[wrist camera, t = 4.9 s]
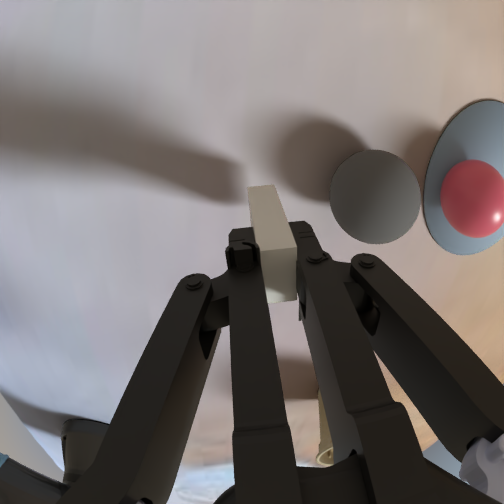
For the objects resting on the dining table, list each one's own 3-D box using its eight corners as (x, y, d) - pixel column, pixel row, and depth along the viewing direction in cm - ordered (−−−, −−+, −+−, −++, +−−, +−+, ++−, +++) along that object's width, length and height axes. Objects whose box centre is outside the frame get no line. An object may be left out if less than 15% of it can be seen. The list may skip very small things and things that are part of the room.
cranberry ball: (437, 245, 18) (505, 259, 16) (452, 166, 15) (527, 184, 13) (431, 209, 22) (489, 221, 20) (441, 144, 19) (503, 159, 17)
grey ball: (433, 250, 16) (390, 212, 21) (442, 160, 13) (390, 137, 18) (351, 272, 16) (319, 226, 21) (351, 171, 13) (313, 146, 18)
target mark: (409, 263, 24) (410, 264, 23) (432, 88, 16) (433, 88, 16) (512, 245, 24) (513, 246, 24) (541, 114, 16) (542, 114, 16)
